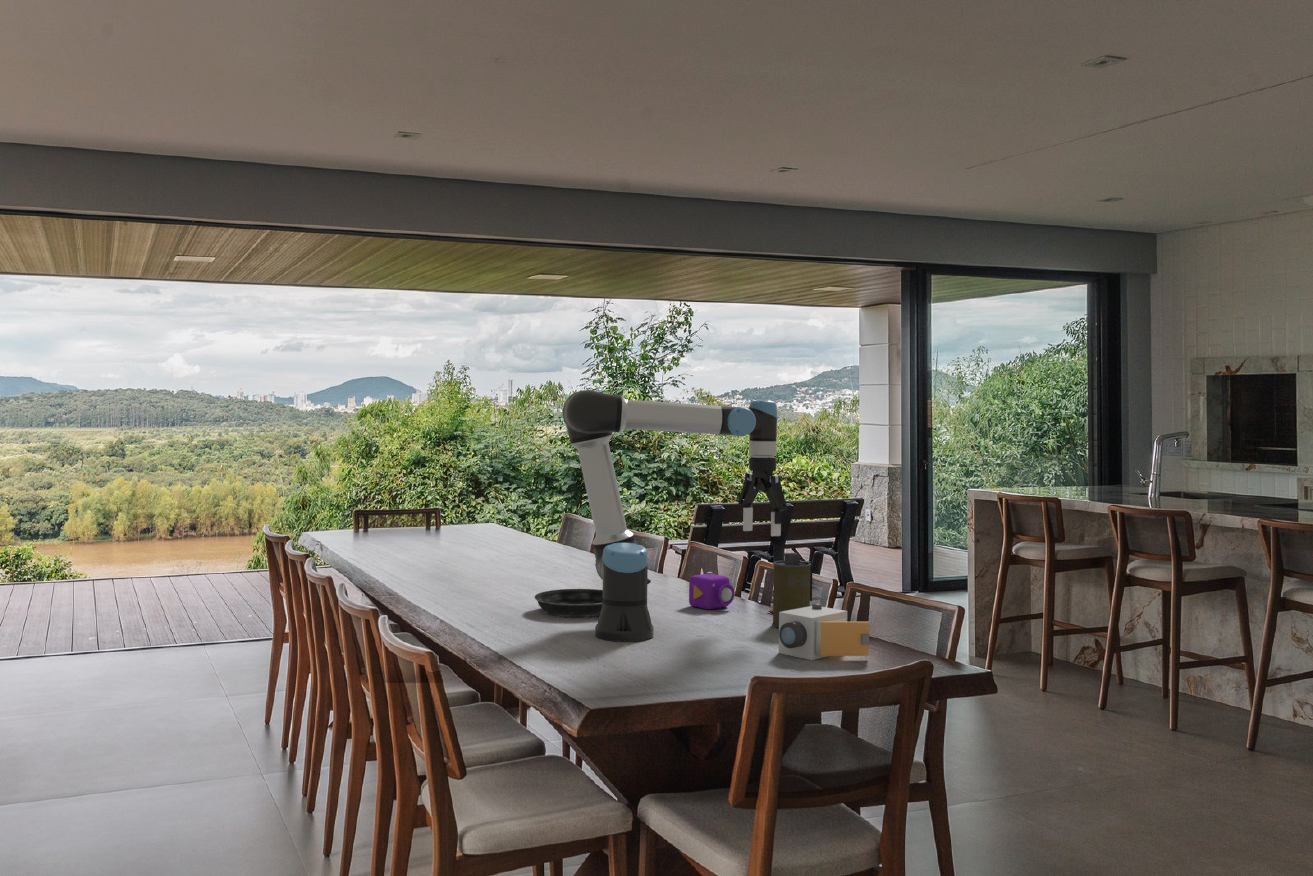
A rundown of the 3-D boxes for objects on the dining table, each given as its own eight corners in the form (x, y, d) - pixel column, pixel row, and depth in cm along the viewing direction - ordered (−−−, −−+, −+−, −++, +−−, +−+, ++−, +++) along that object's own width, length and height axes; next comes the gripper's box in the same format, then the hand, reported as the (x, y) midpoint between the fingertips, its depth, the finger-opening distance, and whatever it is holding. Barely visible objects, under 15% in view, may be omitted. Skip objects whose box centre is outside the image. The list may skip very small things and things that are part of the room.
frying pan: (575, 625, 291) (575, 600, 291) (516, 612, 308) (516, 589, 308) (682, 605, 323) (682, 583, 323) (623, 595, 340) (623, 574, 340)
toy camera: (722, 613, 311) (722, 579, 311) (684, 607, 319) (684, 574, 319) (742, 608, 319) (742, 574, 319) (704, 602, 328) (705, 570, 328)
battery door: (817, 657, 251) (817, 623, 251) (815, 655, 253) (815, 621, 253) (869, 656, 252) (870, 623, 252) (867, 655, 254) (868, 621, 254)
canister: (780, 630, 286) (782, 556, 286) (766, 623, 296) (767, 551, 296) (817, 628, 289) (819, 555, 289) (802, 621, 299) (803, 550, 299)
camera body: (803, 662, 249) (804, 615, 249) (769, 655, 257) (770, 609, 256) (847, 651, 262) (848, 607, 261) (813, 645, 269) (814, 601, 269)
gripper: (800, 458, 286) (799, 537, 286) (748, 454, 307) (747, 528, 308) (777, 458, 282) (776, 538, 282) (726, 454, 304) (725, 529, 304)
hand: (761, 533), depth 295 cm, fingers open, 13 cm apart
